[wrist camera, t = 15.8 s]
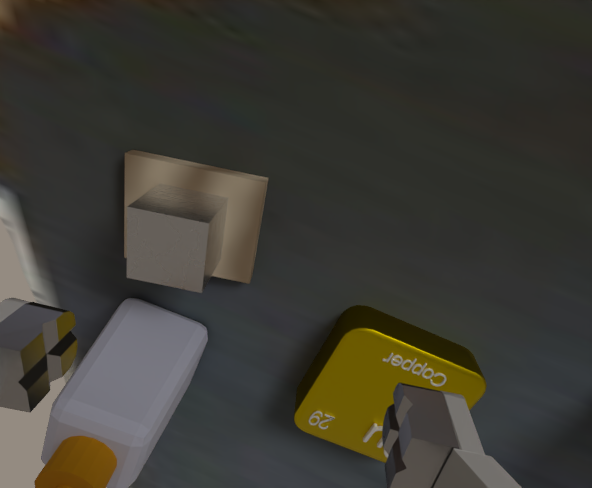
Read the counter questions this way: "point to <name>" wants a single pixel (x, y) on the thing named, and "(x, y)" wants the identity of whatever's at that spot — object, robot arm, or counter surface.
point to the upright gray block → (175, 237)
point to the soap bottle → (120, 398)
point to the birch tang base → (235, 185)
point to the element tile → (376, 377)
